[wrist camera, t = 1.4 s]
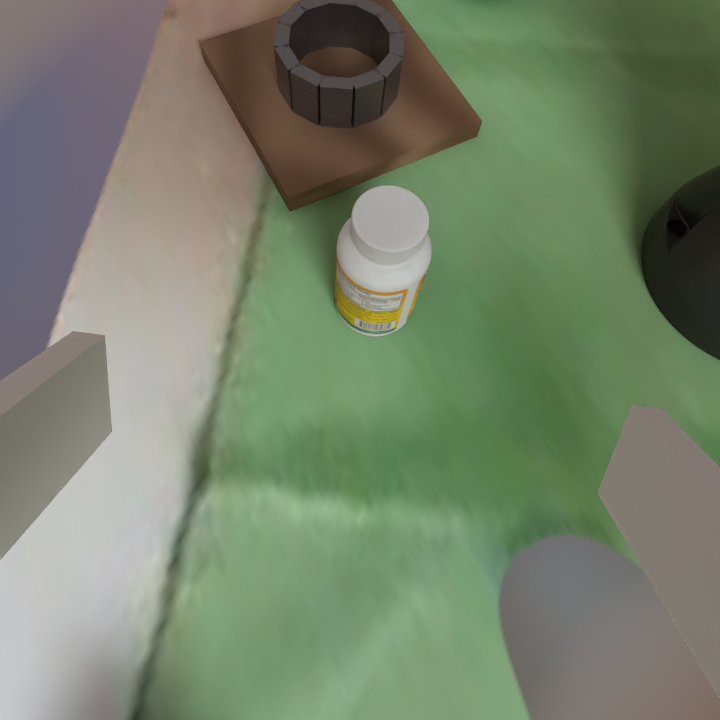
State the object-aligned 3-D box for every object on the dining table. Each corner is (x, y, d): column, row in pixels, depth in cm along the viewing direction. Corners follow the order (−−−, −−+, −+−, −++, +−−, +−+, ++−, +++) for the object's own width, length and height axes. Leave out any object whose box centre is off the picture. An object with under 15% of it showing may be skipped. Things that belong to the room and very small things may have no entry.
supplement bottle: (367, 353, 34) (382, 283, 25) (318, 294, 36) (315, 207, 27) (429, 309, 36) (463, 227, 27) (380, 253, 37) (396, 157, 28)
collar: (363, 24, 42) (366, -20, 39) (419, 103, 40) (427, 63, 37) (259, 58, 41) (253, 15, 37) (311, 143, 38) (310, 105, 35)
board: (378, 2, 46) (380, -16, 44) (477, 136, 41) (482, 121, 40) (203, 58, 42) (199, 41, 41) (289, 211, 38) (288, 197, 36)
